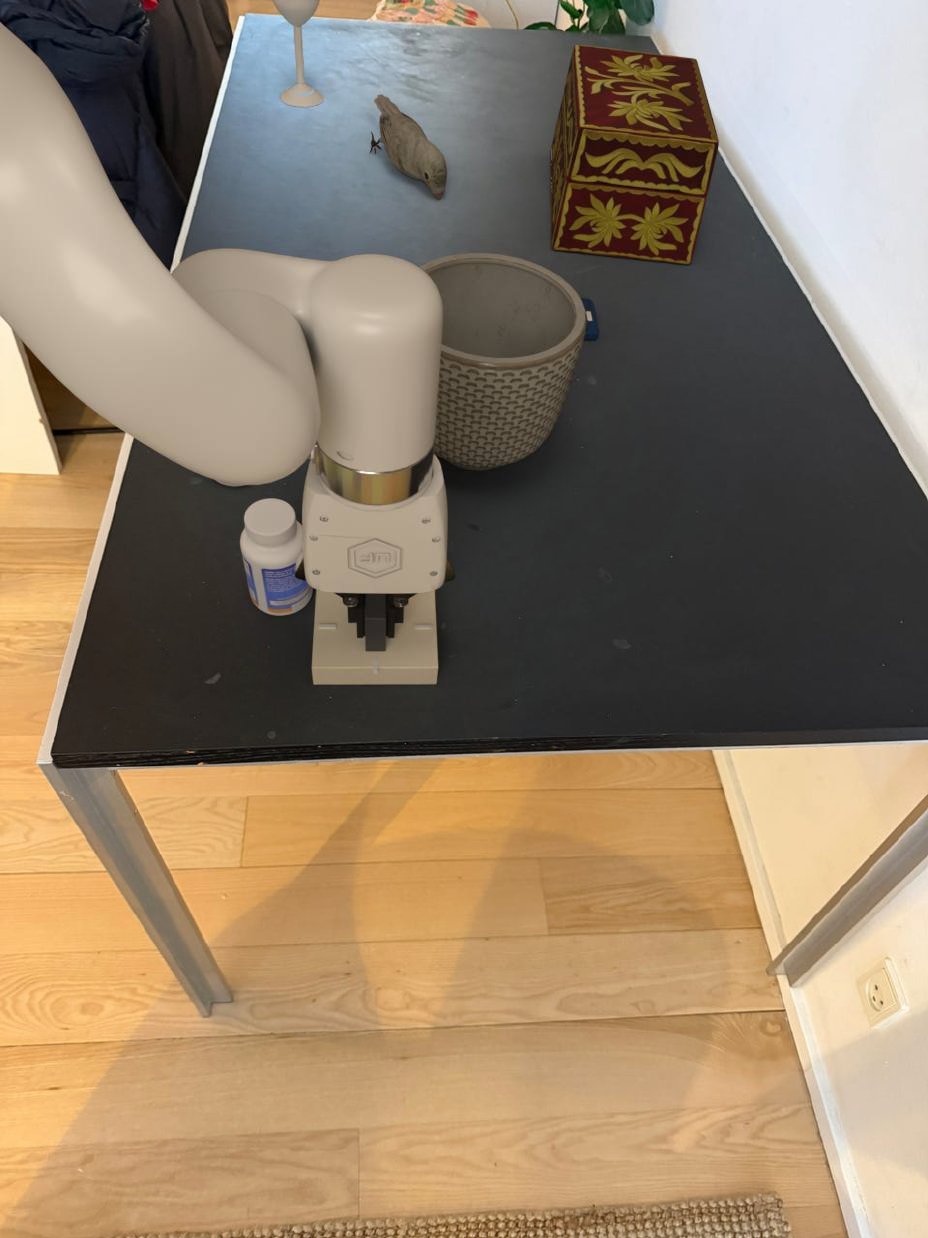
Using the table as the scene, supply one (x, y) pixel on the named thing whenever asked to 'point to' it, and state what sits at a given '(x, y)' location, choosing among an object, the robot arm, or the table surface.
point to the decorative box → (631, 156)
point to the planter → (502, 356)
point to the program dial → (375, 621)
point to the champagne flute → (299, 50)
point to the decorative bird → (410, 147)
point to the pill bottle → (273, 557)
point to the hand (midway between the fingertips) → (376, 623)
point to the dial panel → (350, 663)
